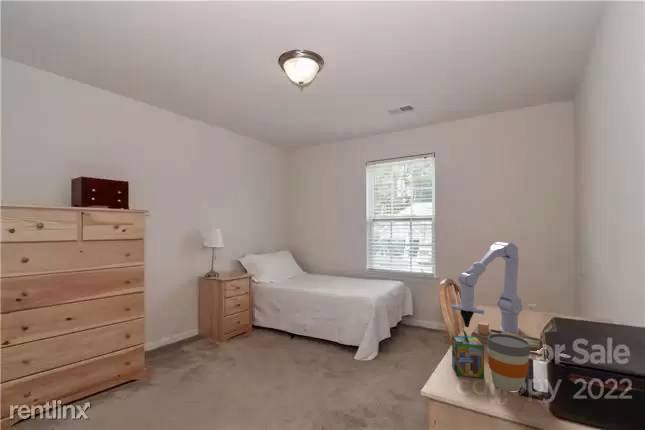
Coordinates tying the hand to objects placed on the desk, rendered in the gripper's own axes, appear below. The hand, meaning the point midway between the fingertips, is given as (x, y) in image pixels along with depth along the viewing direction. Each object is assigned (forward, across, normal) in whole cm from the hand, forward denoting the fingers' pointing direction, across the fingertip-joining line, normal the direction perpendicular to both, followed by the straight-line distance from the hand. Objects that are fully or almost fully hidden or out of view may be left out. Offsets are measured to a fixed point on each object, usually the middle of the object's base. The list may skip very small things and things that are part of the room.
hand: (467, 326), depth 153 cm
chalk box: (+4, +8, -40) cm, 41 cm away
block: (+1, +7, 0) cm, 7 cm away
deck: (+4, +16, 0) cm, 16 cm away
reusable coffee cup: (+4, +21, -42) cm, 47 cm away
